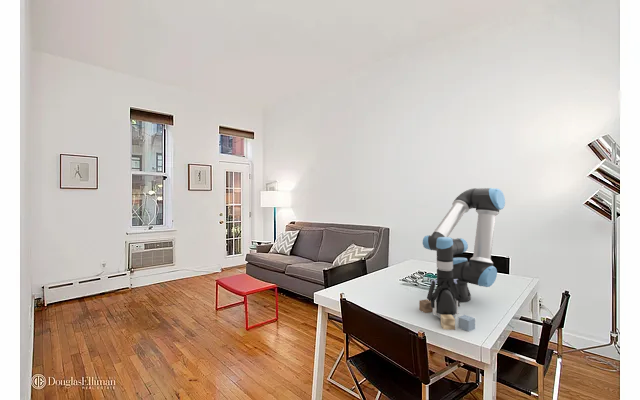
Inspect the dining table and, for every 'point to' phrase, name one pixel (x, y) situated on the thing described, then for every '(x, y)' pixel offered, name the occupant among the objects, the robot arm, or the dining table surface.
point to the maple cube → (447, 322)
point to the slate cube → (466, 323)
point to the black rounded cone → (445, 303)
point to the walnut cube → (425, 306)
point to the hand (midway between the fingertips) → (445, 313)
